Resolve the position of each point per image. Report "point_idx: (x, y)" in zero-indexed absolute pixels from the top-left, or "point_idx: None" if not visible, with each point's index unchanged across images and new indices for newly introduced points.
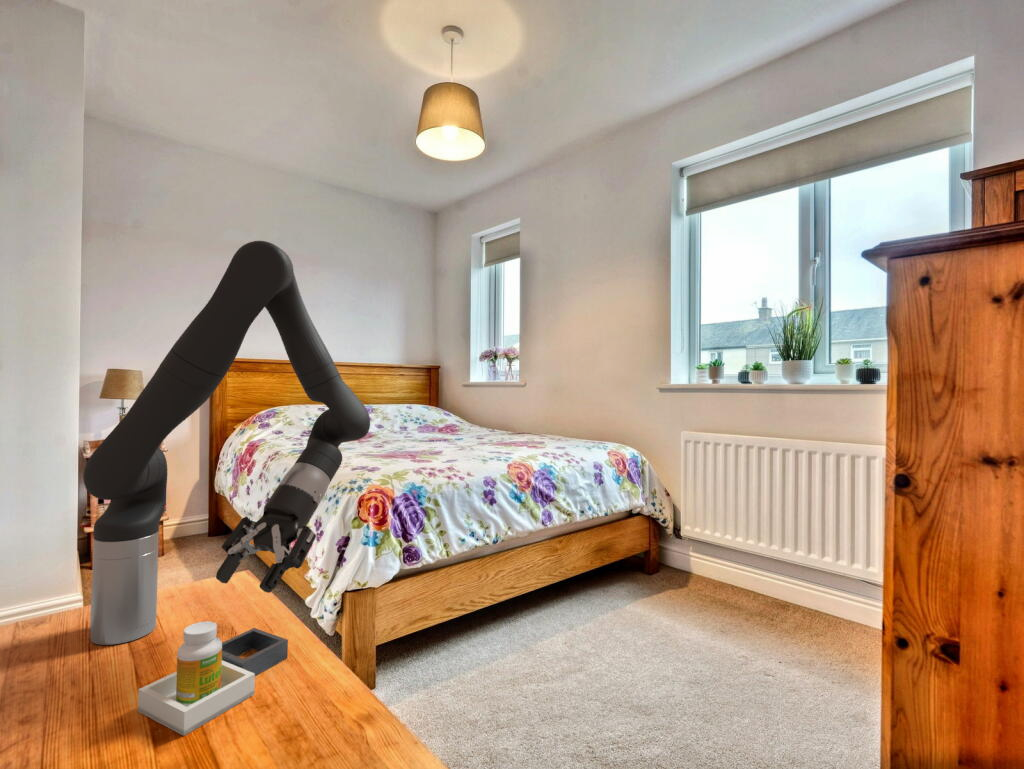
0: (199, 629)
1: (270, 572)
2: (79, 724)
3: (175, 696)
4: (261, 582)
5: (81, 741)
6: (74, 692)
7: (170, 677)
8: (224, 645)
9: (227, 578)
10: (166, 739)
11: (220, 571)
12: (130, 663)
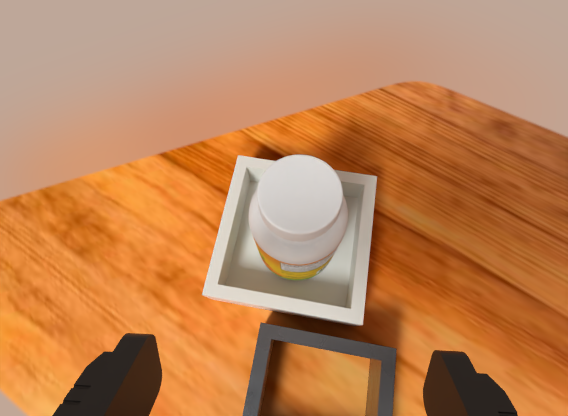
0: (292, 182)
1: (86, 402)
2: (418, 145)
3: None
4: (139, 343)
5: (373, 123)
6: (529, 196)
7: (360, 224)
8: (379, 387)
9: (432, 409)
10: None
11: (466, 376)
12: (558, 304)
